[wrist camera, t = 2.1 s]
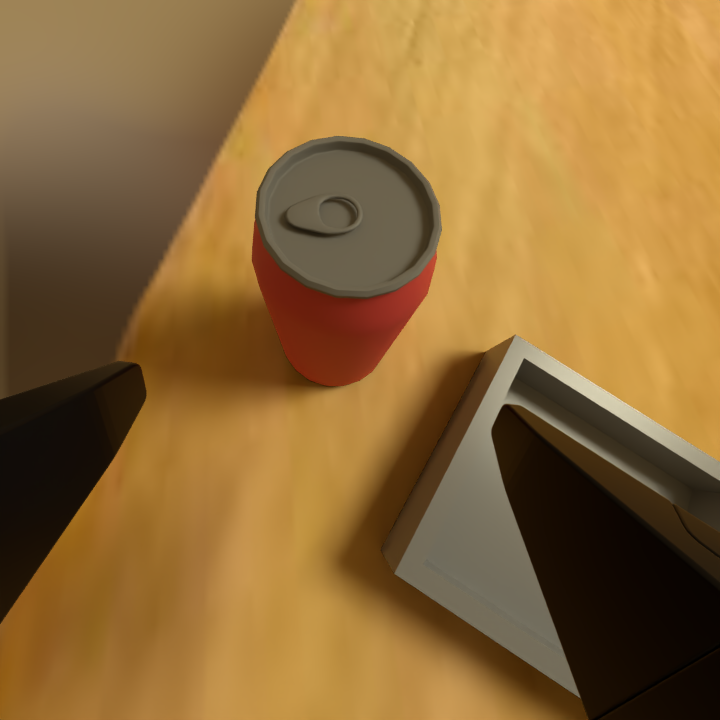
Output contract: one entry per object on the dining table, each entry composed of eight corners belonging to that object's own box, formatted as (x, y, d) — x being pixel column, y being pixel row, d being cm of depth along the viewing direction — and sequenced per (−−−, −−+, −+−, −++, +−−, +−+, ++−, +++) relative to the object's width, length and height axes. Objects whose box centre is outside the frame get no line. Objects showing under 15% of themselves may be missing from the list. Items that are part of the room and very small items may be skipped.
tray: (629, 716, 18) (702, 780, 14) (380, 549, 18) (394, 573, 15) (693, 482, 21) (762, 488, 18) (486, 351, 22) (515, 334, 19)
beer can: (277, 297, 21) (226, 122, 10) (374, 286, 22) (433, 117, 11) (289, 395, 20) (246, 327, 8) (393, 379, 21) (483, 299, 9)
